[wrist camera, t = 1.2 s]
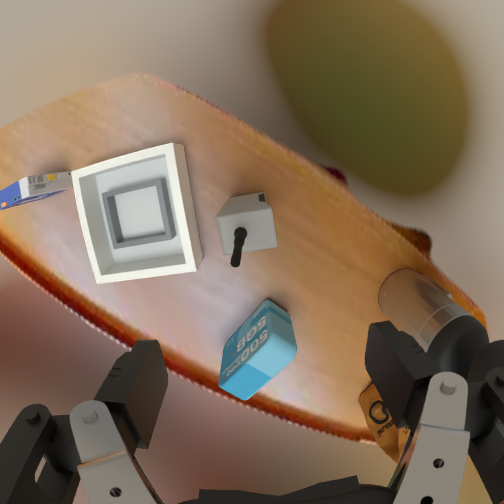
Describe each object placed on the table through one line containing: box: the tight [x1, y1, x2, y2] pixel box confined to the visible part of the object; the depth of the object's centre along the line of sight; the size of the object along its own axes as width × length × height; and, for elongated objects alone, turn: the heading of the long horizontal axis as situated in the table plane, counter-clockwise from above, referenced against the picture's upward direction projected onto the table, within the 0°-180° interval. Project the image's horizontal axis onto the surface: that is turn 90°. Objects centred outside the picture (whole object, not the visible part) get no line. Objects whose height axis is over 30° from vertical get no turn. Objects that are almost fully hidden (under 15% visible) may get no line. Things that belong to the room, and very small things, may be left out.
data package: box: [219, 300, 297, 400], centre depth 42 cm, size 12×4×12 cm, turn 142°
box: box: [71, 143, 204, 284], centre depth 39 cm, size 16×17×6 cm
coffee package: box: [359, 383, 410, 464], centre depth 42 cm, size 10×12×22 cm
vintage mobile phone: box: [216, 192, 278, 267], centre depth 30 cm, size 4×5×25 cm
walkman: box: [0, 171, 73, 210], centre depth 35 cm, size 8×3×12 cm, turn 101°
